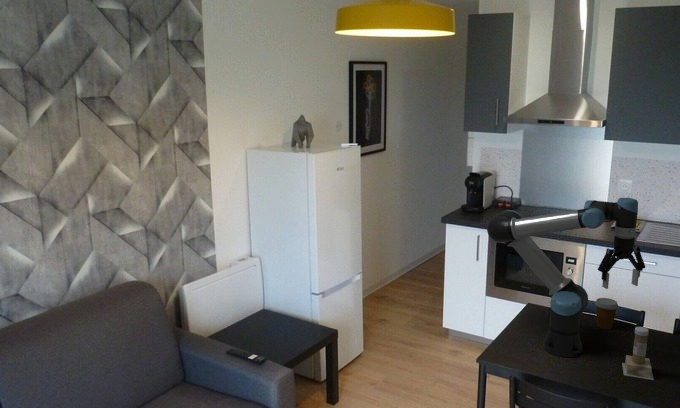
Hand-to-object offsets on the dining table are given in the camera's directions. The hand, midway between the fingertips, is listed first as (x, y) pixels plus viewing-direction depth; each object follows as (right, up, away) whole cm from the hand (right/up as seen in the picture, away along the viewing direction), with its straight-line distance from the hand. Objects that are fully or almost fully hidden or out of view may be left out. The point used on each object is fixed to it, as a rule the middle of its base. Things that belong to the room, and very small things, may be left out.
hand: (619, 286), depth 233 cm
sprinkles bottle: (-1, -26, -17) cm, 31 cm away
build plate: (-1, -31, -16) cm, 35 cm away
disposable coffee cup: (+5, -22, +25) cm, 34 cm away
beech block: (-1, -30, -16) cm, 34 cm away
